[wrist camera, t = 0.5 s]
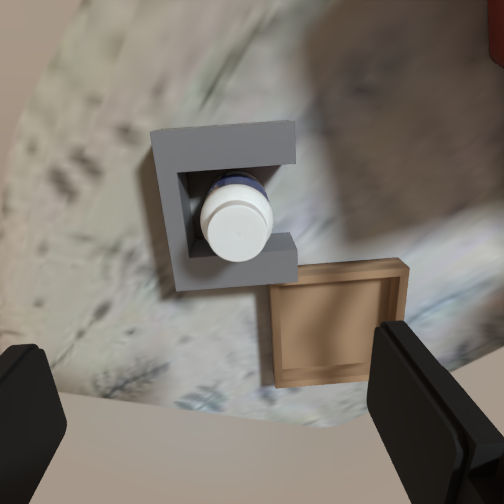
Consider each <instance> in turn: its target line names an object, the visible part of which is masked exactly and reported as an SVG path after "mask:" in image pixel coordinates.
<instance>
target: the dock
mask: <svg viewBox="0 0 504 504" xmlns="http://www.w3.org/2000/svg"><path fill="white" fill-rule="evenodd" d="M150 137H151V143H152V149H153V155H154V161H155V167H156V173H157V179H158V185H159V191H160V197H161V203H162V209H163V215H164V221H165V227H166V233H167V239H168V245H169V251H170V257H171V263H172V269H173V275H174V281H175V287H176V291H189V290H202V289H215V288H227V287H240V286H253V285H265V284H278V283H291V282H298V257H297V248H296V246H295V243H294V241H293V239H292V237H291V235H290V232H289V233H276V234H271V235H270V237H269V239H268V240H267V242H266V244H265V246H264V248H263V249H262V251H261V252H260V253H259V254H258V255H257V256H255V257H254V258H252V259H250V260H247V261H243V262H232V261H228V260H225V259H223V258H221V257H220V256H218V255H217V254H216V253H215V252H214V251H213V250H212V248H211V246H210V244H209V243H208V242H207V240H206V239H197V240H195V235H194V228H193V221H192V213H191V206H190V198H189V191H188V184H187V176H186V172H190V171H204V170H218V169H231V168H245V167H259V166H272V165H286V164H296V145H295V121H288V120H284V121H270V122H256V123H242V124H228V125H214V126H200V127H186V128H172V129H161V130H156V131H151V132H150Z"/></svg>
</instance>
